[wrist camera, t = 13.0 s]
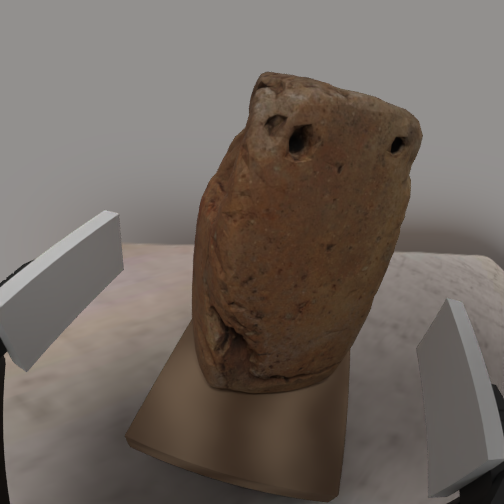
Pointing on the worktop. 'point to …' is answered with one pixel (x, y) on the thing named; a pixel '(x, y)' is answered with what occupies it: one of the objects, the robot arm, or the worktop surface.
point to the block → (298, 233)
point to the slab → (246, 429)
